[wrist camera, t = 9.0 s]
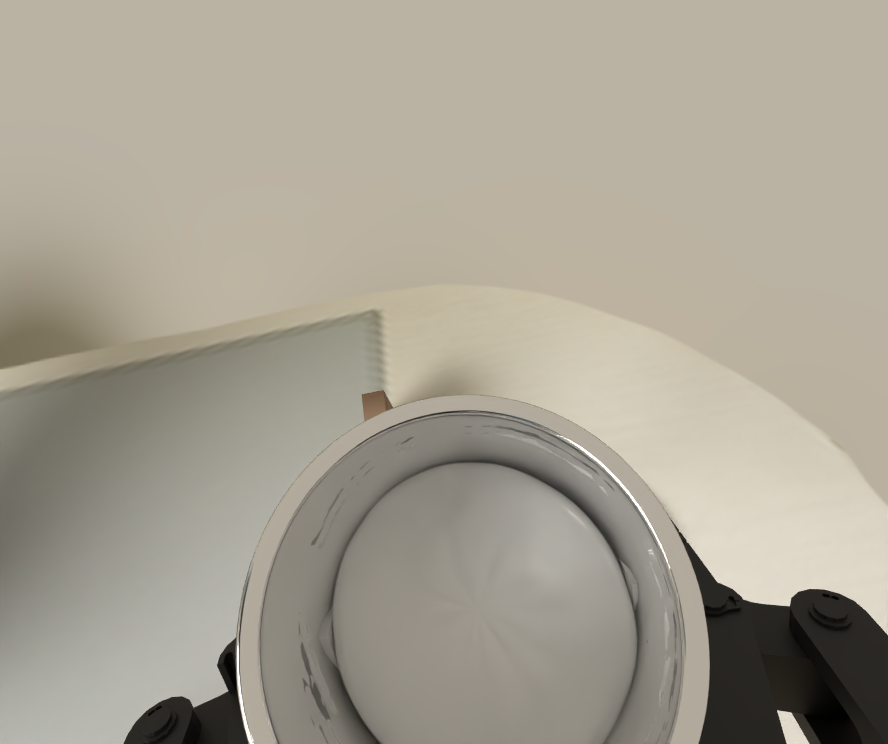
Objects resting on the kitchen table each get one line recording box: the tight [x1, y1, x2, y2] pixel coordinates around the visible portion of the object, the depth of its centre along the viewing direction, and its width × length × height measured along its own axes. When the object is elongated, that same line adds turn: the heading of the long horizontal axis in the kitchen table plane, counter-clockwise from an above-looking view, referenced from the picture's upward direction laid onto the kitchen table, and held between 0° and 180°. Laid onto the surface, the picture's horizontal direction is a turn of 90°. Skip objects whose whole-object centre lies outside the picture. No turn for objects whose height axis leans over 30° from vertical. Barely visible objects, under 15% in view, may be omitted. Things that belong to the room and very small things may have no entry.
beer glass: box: [236, 395, 710, 744], centre depth 14 cm, size 7×7×15 cm
